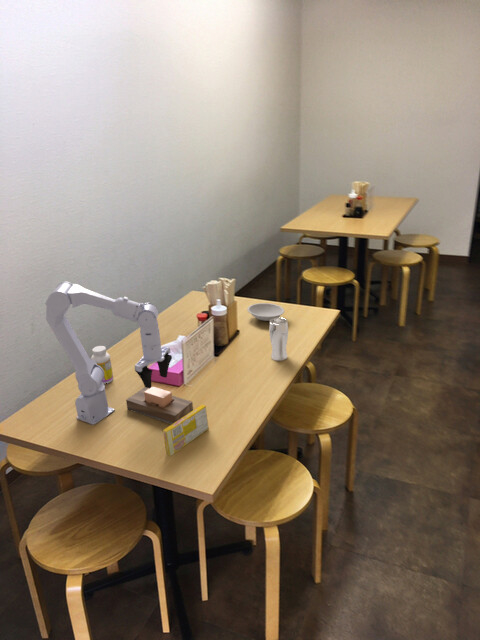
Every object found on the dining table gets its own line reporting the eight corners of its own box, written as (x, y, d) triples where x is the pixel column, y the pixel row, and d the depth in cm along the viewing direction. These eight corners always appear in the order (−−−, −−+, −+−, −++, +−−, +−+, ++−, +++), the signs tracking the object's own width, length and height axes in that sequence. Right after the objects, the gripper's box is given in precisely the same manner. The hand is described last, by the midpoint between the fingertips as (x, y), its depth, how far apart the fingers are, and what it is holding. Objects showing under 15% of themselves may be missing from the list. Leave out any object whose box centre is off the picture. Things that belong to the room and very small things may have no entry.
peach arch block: (165, 414, 170) (163, 398, 168) (146, 408, 174) (143, 391, 172) (173, 408, 173) (171, 392, 171) (154, 402, 177) (152, 386, 175)
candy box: (204, 427, 164) (201, 403, 161) (209, 429, 163) (207, 405, 160) (165, 453, 153) (162, 429, 150) (170, 456, 152) (167, 432, 148)
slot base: (175, 425, 165) (174, 415, 164) (127, 409, 175) (126, 399, 174) (193, 411, 172) (192, 401, 171) (145, 396, 182) (144, 387, 181)
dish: (240, 320, 239) (239, 309, 237) (262, 310, 248) (262, 300, 246) (269, 330, 227) (269, 319, 225) (291, 320, 236) (291, 309, 234)
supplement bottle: (90, 382, 193) (85, 350, 188) (103, 374, 198) (97, 343, 193) (105, 386, 190) (99, 354, 185) (117, 378, 195) (112, 346, 190)
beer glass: (288, 353, 207) (288, 317, 201) (288, 361, 200) (287, 324, 195) (270, 353, 208) (269, 317, 202) (269, 361, 201) (268, 324, 195)
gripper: (145, 355, 157) (150, 395, 163) (176, 336, 168) (180, 374, 174) (127, 350, 161) (133, 390, 166) (158, 332, 172) (163, 369, 177)
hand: (156, 381), depth 170 cm, fingers open, 7 cm apart
